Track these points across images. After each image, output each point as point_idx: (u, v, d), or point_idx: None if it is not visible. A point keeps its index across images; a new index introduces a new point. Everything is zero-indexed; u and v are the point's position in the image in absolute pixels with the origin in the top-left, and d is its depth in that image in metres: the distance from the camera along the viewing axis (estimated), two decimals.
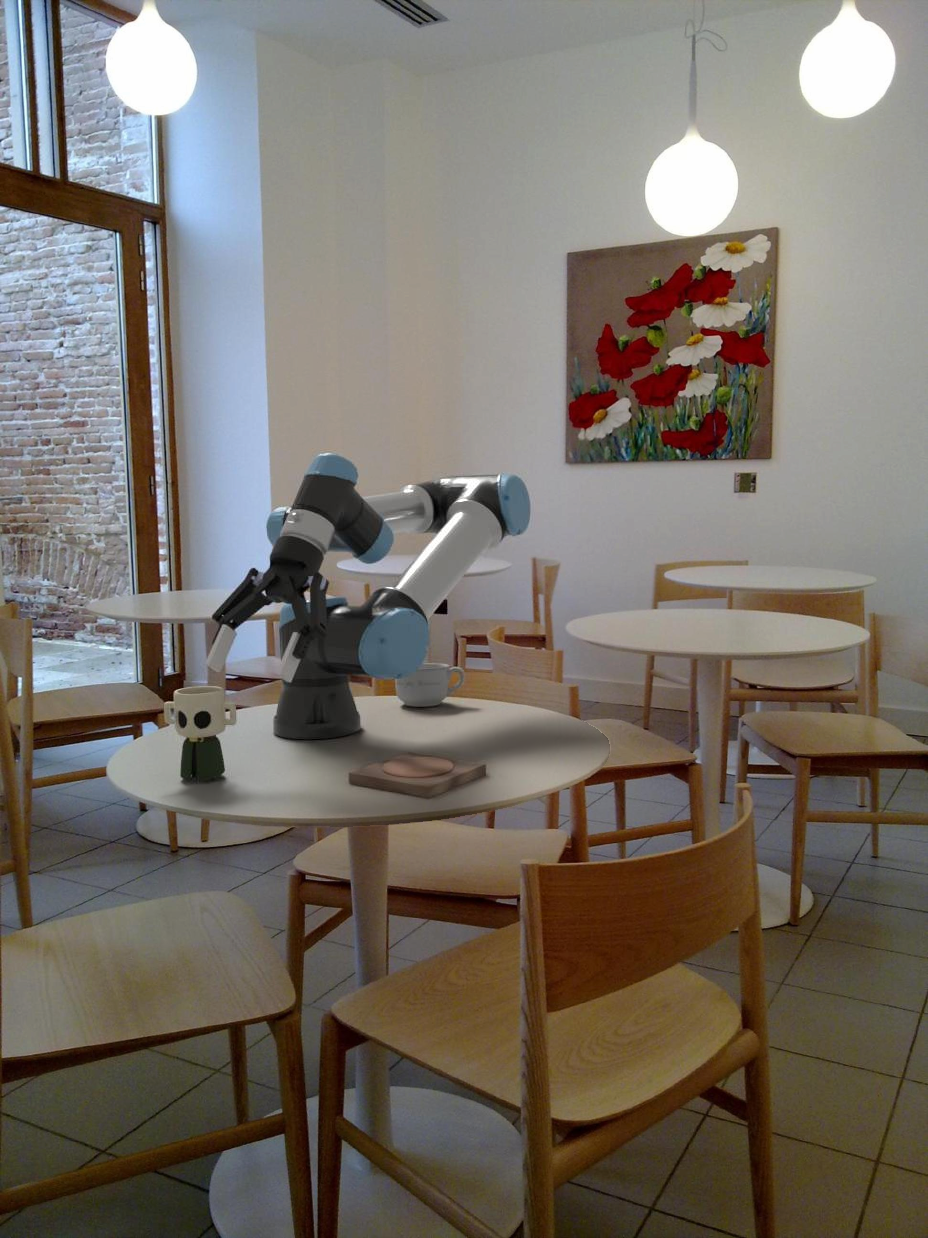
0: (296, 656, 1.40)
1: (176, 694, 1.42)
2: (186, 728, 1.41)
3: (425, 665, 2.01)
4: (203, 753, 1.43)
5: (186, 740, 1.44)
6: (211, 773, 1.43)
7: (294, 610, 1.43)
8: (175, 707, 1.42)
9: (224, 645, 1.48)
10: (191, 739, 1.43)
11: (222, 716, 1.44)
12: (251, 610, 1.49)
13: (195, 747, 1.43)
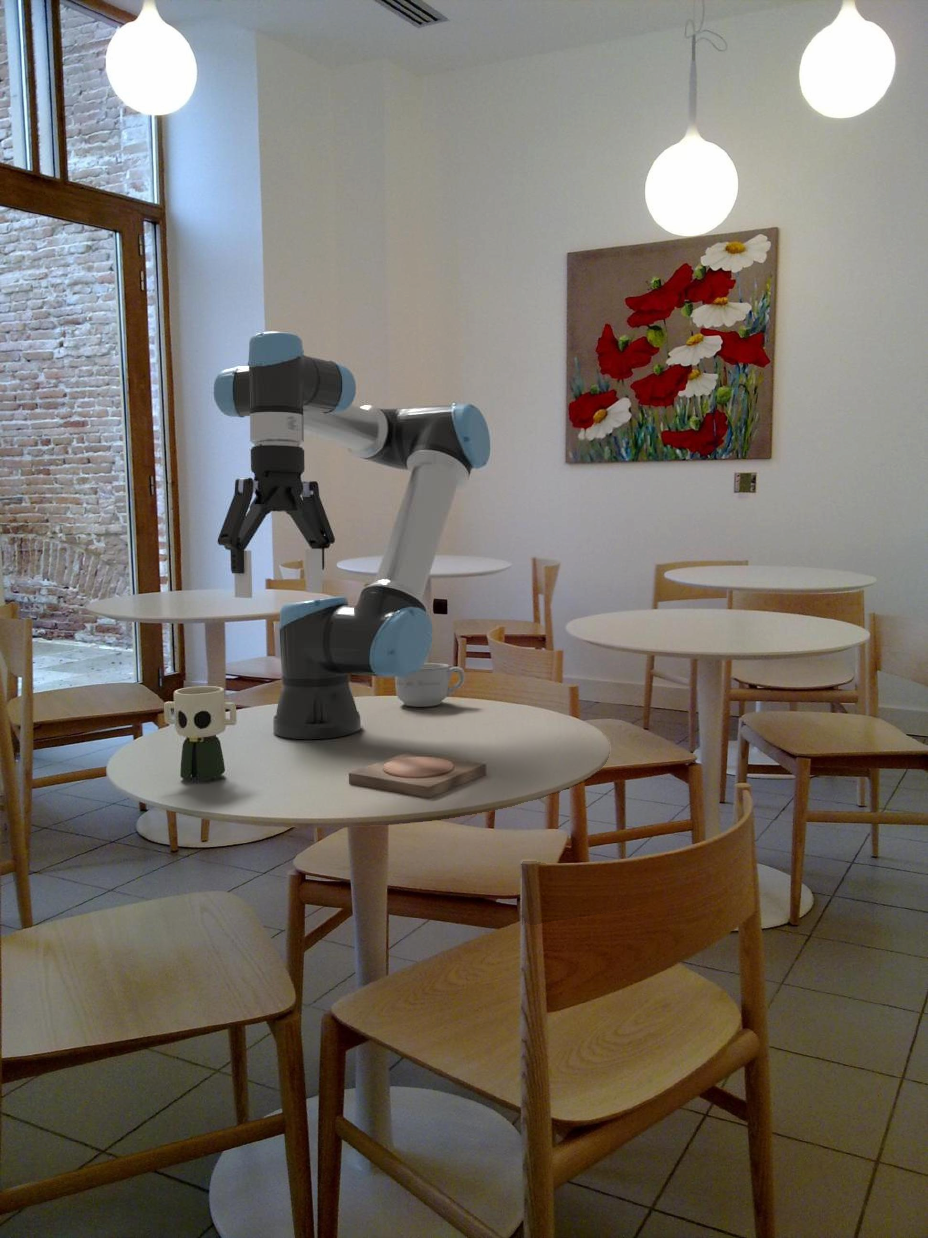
0: None
1: (176, 694, 1.42)
2: (186, 728, 1.41)
3: (425, 665, 2.01)
4: (203, 753, 1.43)
5: (186, 740, 1.44)
6: (211, 773, 1.43)
7: (309, 525, 1.47)
8: (175, 707, 1.42)
9: None
10: (191, 739, 1.43)
11: (222, 716, 1.44)
12: None
13: (195, 747, 1.43)
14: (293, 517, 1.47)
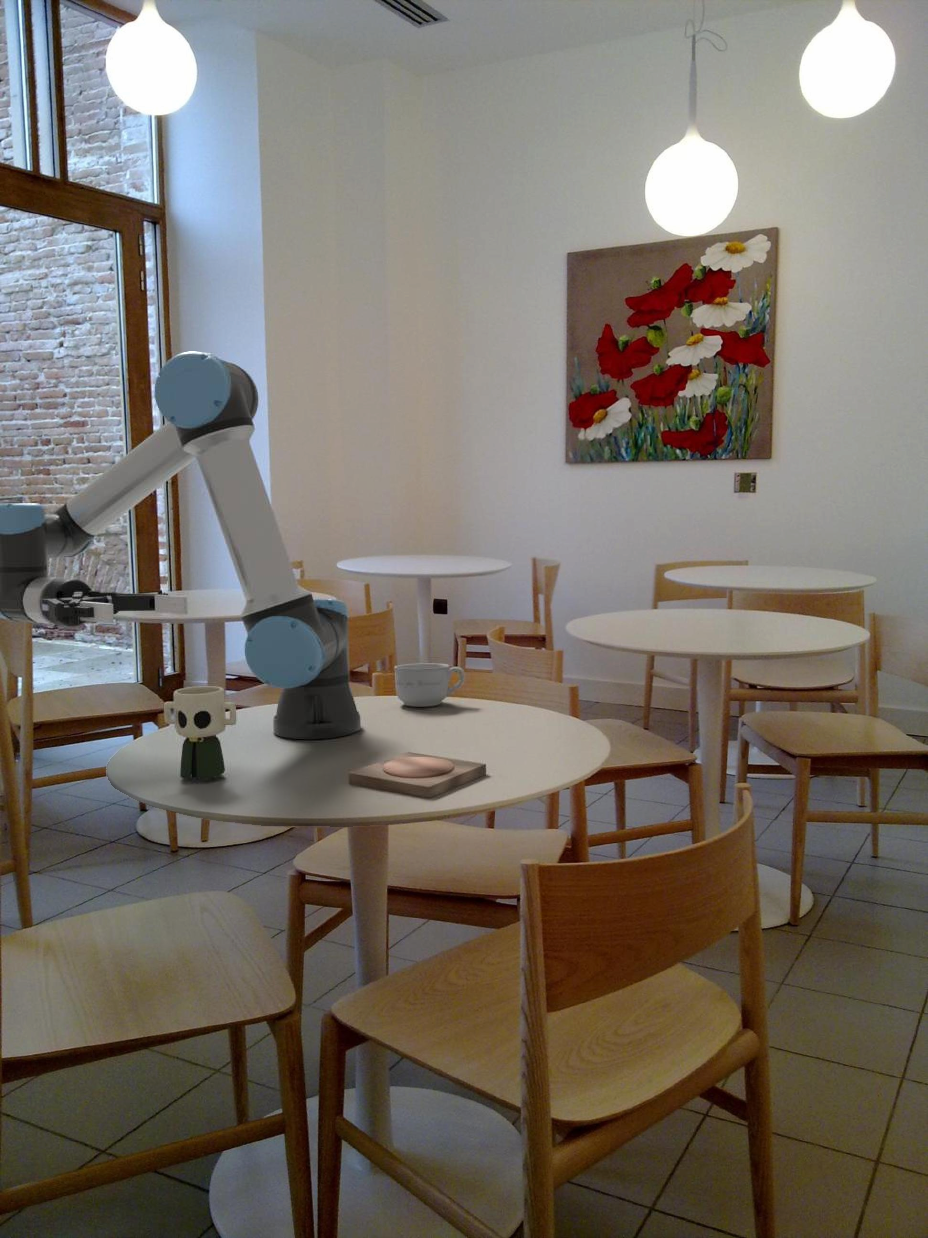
0: (92, 612, 1.44)
1: (176, 694, 1.42)
2: (186, 728, 1.41)
3: (425, 665, 2.01)
4: (203, 753, 1.43)
5: (186, 740, 1.44)
6: (211, 773, 1.43)
7: None
8: (175, 707, 1.42)
9: (166, 604, 1.56)
10: (191, 739, 1.43)
11: (222, 716, 1.44)
12: (130, 601, 1.58)
13: (195, 747, 1.43)
14: None
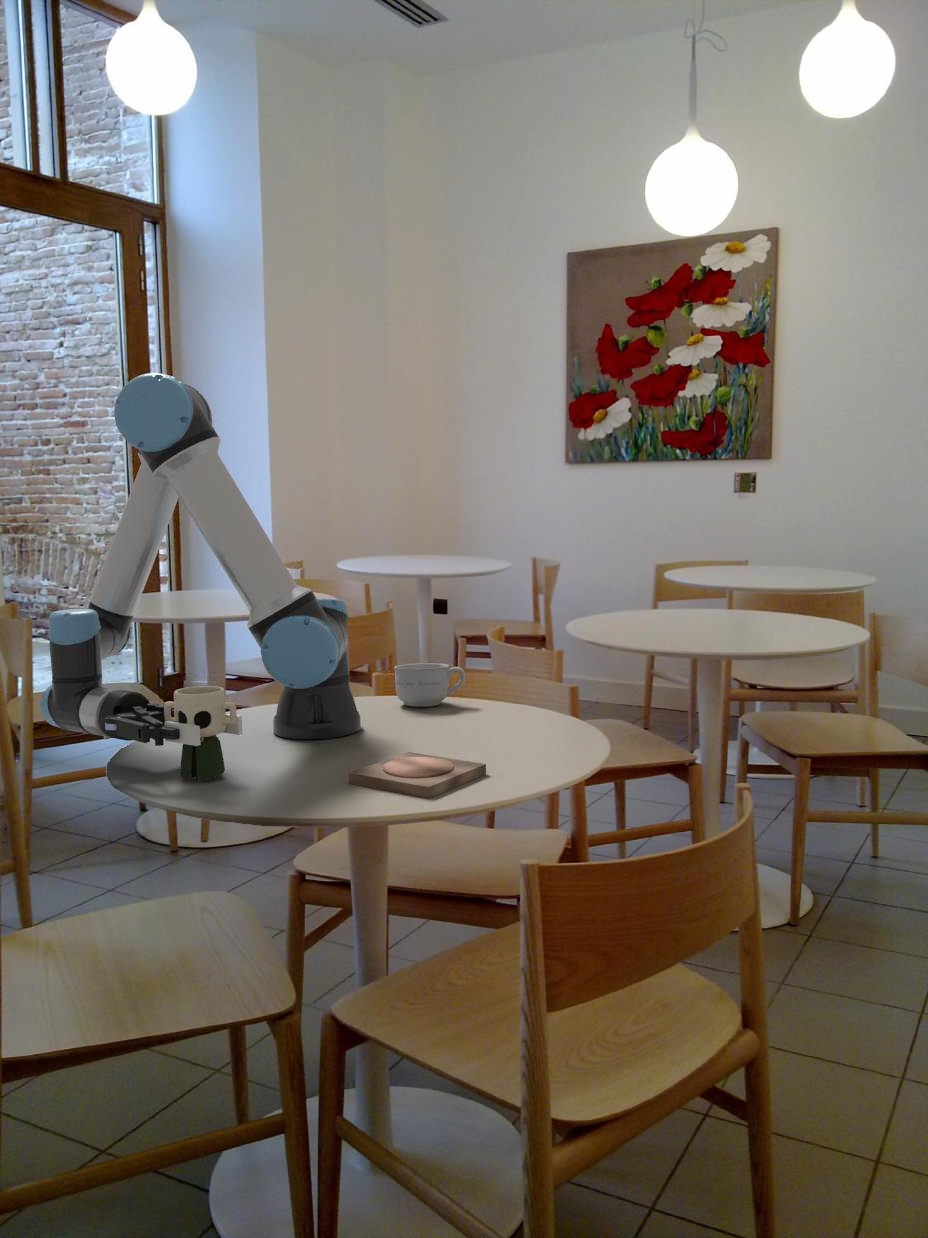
0: (177, 734, 1.41)
1: (176, 694, 1.42)
2: None
3: (425, 665, 2.01)
4: (203, 753, 1.43)
5: None
6: (211, 773, 1.43)
7: None
8: (175, 707, 1.42)
9: None
10: None
11: (222, 716, 1.44)
12: None
13: (195, 747, 1.43)
14: None
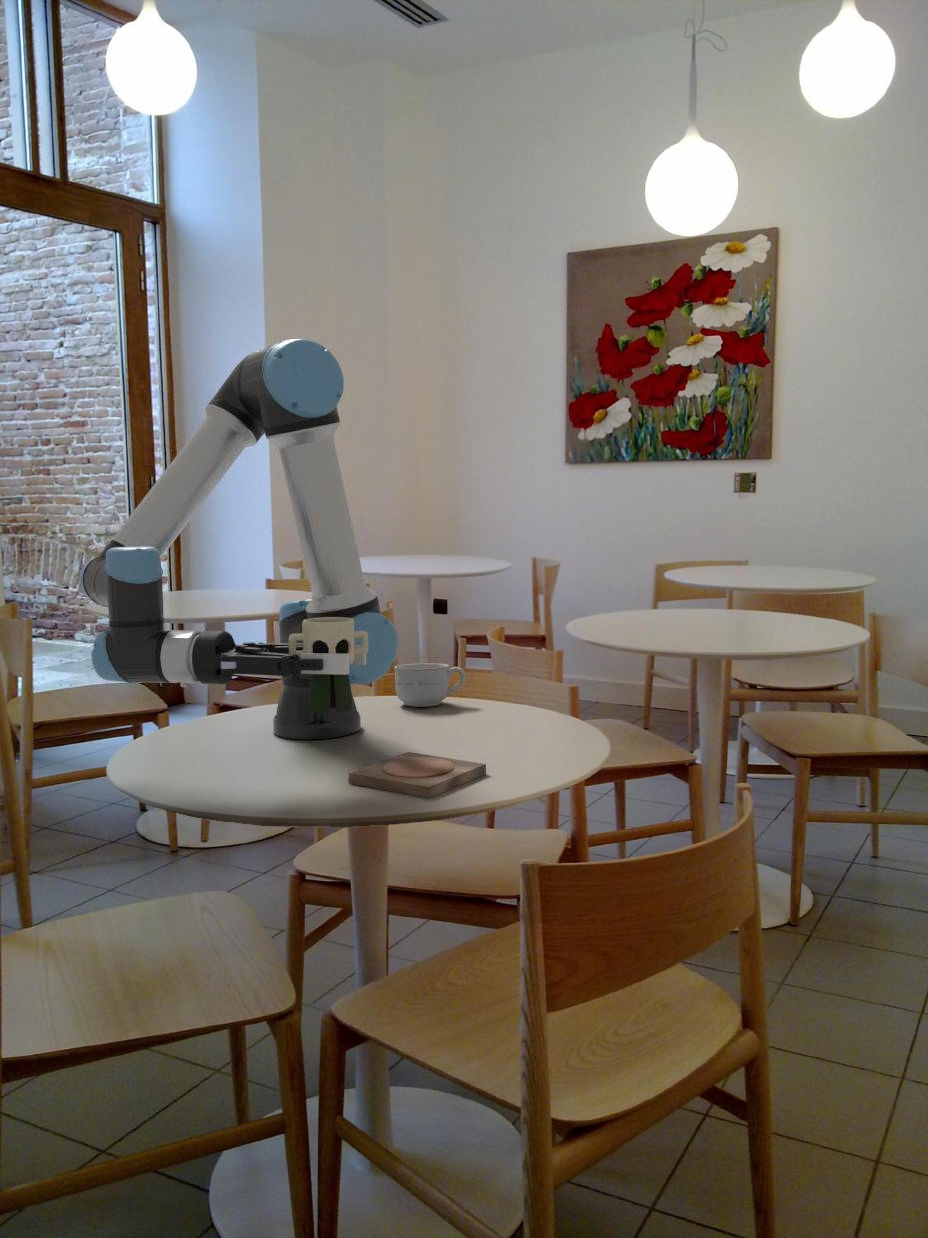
0: (322, 664, 1.34)
1: (313, 623, 1.35)
2: None
3: (425, 665, 2.01)
4: (341, 684, 1.37)
5: None
6: (348, 704, 1.38)
7: None
8: (311, 637, 1.35)
9: None
10: None
11: None
12: None
13: (332, 679, 1.36)
14: None
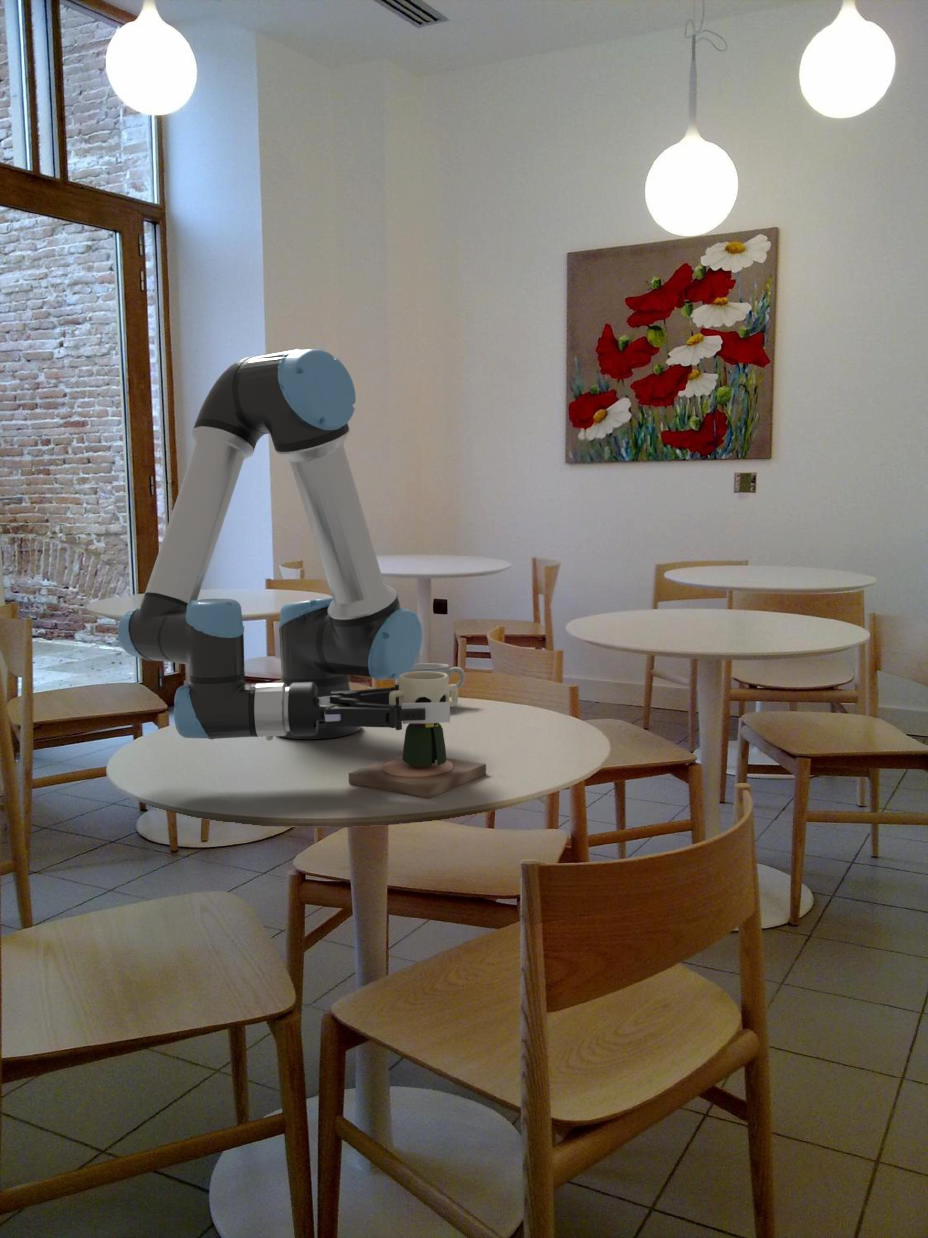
0: (425, 713, 1.37)
1: (418, 681, 1.38)
2: None
3: (425, 665, 2.01)
4: (440, 737, 1.41)
5: (418, 727, 1.41)
6: (444, 756, 1.43)
7: None
8: (415, 694, 1.39)
9: None
10: (428, 725, 1.41)
11: None
12: (373, 700, 1.45)
13: (432, 733, 1.41)
14: None
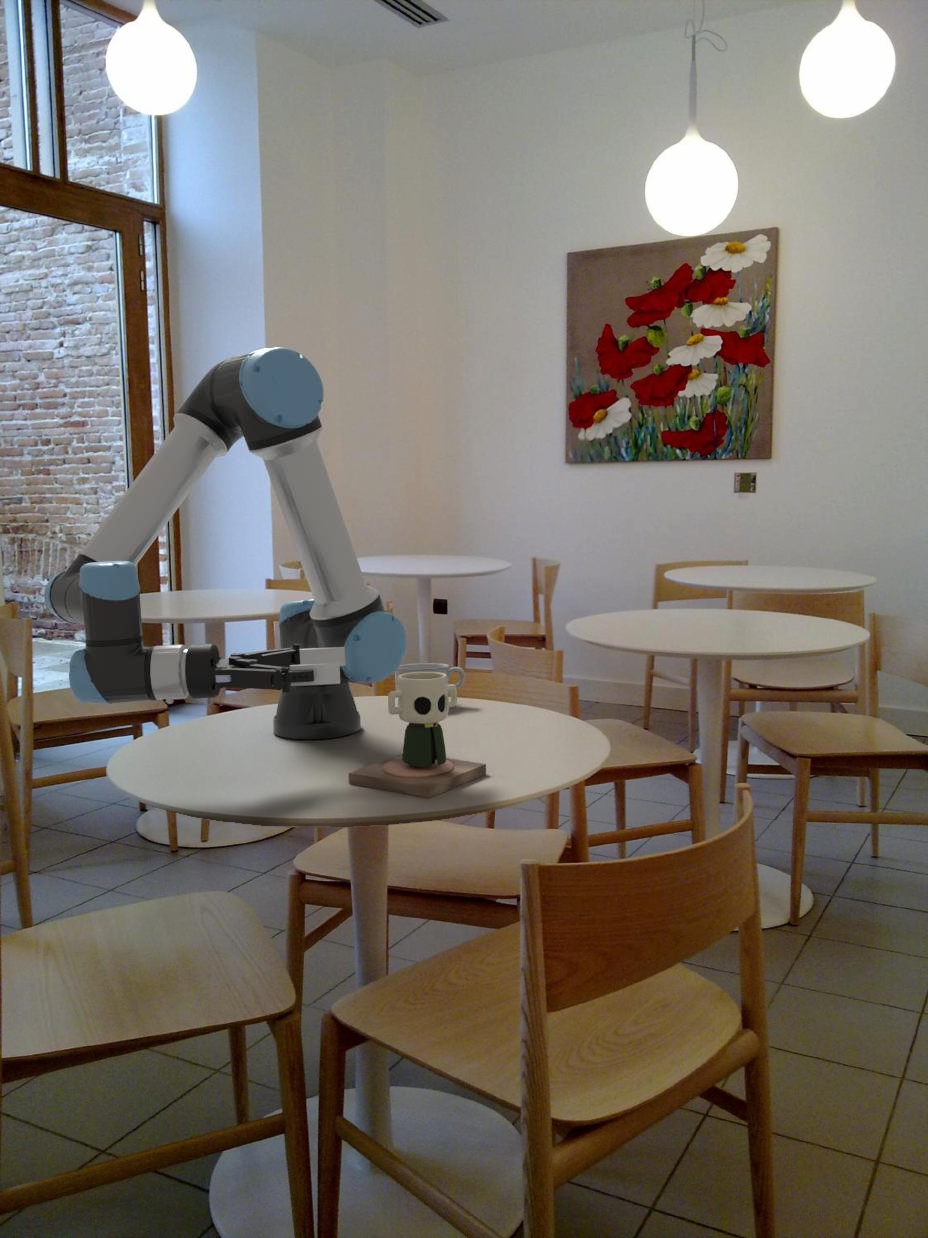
0: (313, 675, 1.33)
1: (416, 680, 1.39)
2: (431, 713, 1.39)
3: (425, 665, 2.01)
4: (439, 737, 1.42)
5: (418, 727, 1.41)
6: (444, 756, 1.43)
7: None
8: (414, 694, 1.39)
9: (318, 658, 1.47)
10: (427, 725, 1.41)
11: None
12: (274, 660, 1.44)
13: (431, 733, 1.41)
14: None
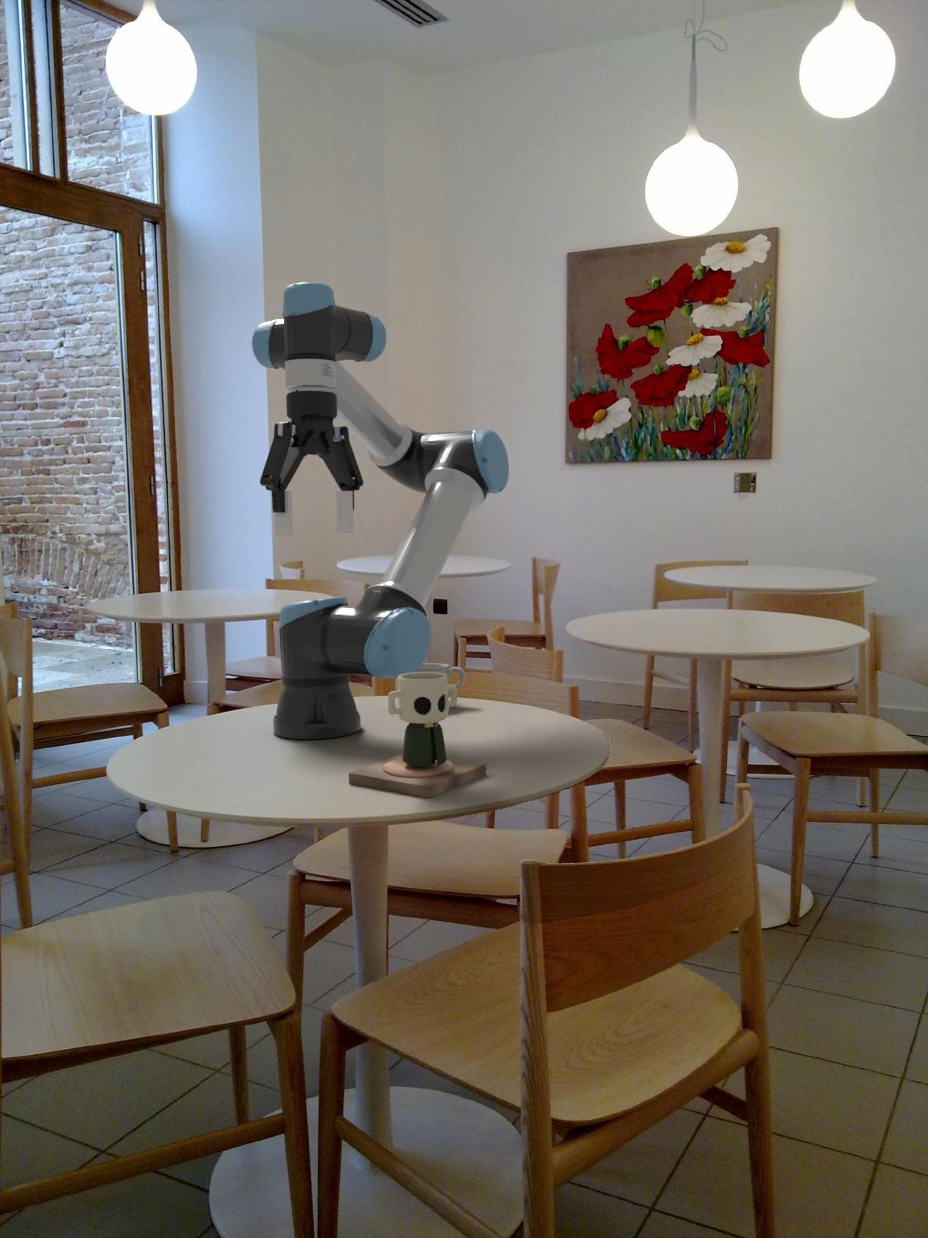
0: None
1: (417, 680, 1.39)
2: (431, 713, 1.39)
3: (425, 665, 2.01)
4: (439, 737, 1.42)
5: (418, 727, 1.41)
6: (444, 756, 1.43)
7: (341, 468, 1.55)
8: (414, 694, 1.39)
9: None
10: (427, 725, 1.41)
11: None
12: None
13: (431, 733, 1.41)
14: (325, 460, 1.55)
